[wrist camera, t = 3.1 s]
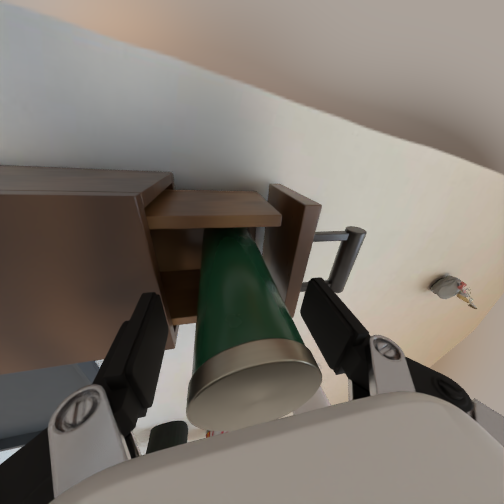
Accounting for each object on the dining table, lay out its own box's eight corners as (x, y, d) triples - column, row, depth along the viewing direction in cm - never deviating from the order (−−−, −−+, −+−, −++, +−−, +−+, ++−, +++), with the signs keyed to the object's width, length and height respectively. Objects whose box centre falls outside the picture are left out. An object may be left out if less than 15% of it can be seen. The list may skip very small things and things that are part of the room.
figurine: (422, 291, 35) (459, 315, 30) (437, 272, 33) (480, 295, 27) (441, 290, 36) (479, 314, 31) (456, 273, 34) (500, 295, 29)
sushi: (183, 417, 41) (178, 471, 34) (190, 430, 45) (187, 480, 38) (145, 427, 40) (132, 485, 33) (156, 439, 44) (147, 492, 37)
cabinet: (172, 171, 16) (135, 196, 8) (187, 274, 22) (175, 348, 14) (-38, 163, 13) (-438, 188, 5) (43, 284, 19) (-82, 387, 11)
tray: (-263, 312, 15) (-324, 333, 13) (45, 289, 19) (29, 302, 17) (-11, 439, 30) (-24, 457, 29) (128, 410, 35) (124, 424, 33)
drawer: (324, 185, 19) (387, 205, 12) (304, 266, 24) (340, 311, 17) (130, 179, 15) (67, 203, 8) (155, 277, 20) (129, 339, 14)
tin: (199, 214, 17) (174, 380, 5) (252, 213, 18) (340, 349, 6) (203, 259, 19) (194, 443, 7) (249, 256, 20) (306, 413, 8)
